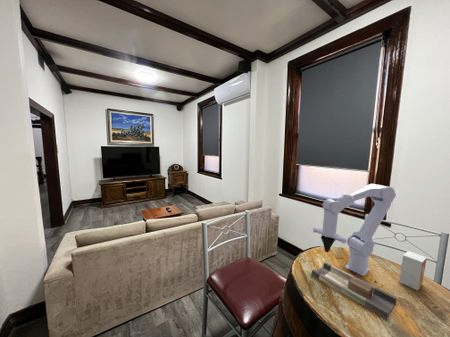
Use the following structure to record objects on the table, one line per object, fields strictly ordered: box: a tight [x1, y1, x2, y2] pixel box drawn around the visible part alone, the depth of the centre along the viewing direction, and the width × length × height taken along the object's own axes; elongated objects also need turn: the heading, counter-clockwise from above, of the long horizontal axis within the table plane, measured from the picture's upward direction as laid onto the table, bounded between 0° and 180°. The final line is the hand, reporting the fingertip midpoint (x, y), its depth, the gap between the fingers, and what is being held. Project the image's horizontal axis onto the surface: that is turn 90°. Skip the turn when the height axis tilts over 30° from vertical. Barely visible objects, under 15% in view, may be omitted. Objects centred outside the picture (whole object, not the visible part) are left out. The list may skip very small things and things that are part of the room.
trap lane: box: [311, 261, 398, 320], centre depth 78 cm, size 13×27×2 cm, turn 36°
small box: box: [398, 250, 427, 291], centre depth 83 cm, size 8×6×13 cm
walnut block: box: [348, 276, 374, 300], centre depth 75 cm, size 5×7×4 cm
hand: (327, 251), depth 90 cm, fingers closed
